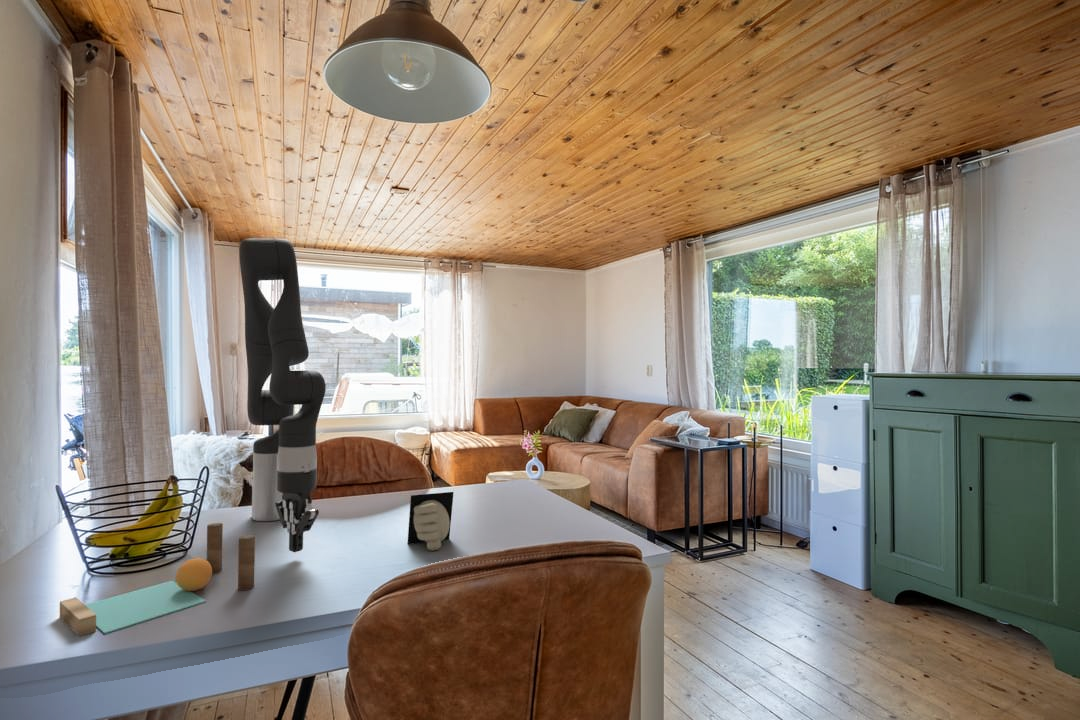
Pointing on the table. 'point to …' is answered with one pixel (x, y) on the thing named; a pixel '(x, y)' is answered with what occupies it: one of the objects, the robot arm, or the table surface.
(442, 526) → the decorative object
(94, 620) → the rail
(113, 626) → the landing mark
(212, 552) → the post
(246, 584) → the post
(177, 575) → the ball
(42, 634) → the table surface
